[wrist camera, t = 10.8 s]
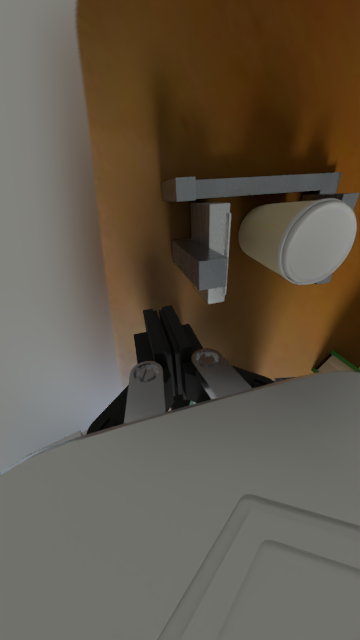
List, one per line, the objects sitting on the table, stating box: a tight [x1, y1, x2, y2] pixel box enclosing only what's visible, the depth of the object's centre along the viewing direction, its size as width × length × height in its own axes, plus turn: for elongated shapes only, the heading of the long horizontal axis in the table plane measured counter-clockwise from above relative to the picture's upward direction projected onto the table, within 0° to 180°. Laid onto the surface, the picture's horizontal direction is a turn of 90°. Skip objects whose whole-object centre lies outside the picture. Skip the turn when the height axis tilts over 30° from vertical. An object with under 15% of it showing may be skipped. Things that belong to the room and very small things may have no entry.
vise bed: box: [161, 172, 359, 285], centre depth 30 cm, size 17×27×8 cm, turn 93°
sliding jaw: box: [172, 202, 231, 304], centre depth 26 cm, size 12×6×12 cm, turn 3°
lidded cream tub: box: [238, 198, 357, 285], centre depth 28 cm, size 9×9×12 cm
